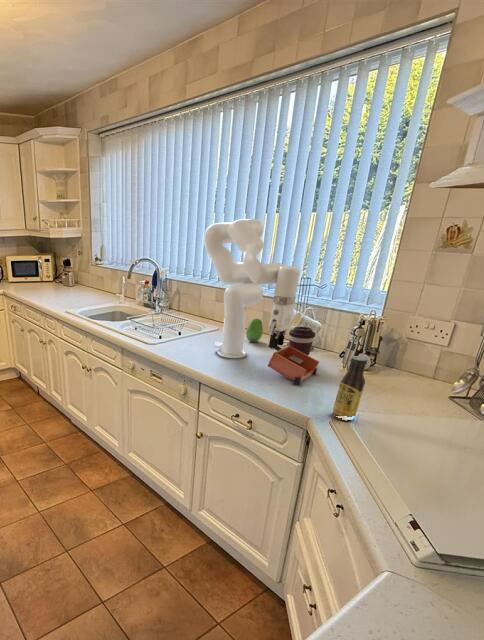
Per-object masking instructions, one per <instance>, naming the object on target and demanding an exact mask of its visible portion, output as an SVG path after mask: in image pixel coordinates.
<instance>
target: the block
mask: <svg viewBox="0 0 484 640" xmlns="http://www.w3.org/2000/svg"><path fill="white" fill-rule="evenodd" d="M288 360H289V361H291V362H293V363H295V364H297V365H298V366H300V367H301V365H302V364H303V362H304V361H303V360H301V359H299V358H298V357H296V356H294V355H293V356H291V357H289V358H288Z"/></svg>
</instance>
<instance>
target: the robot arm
mask: <svg viewBox="0 0 484 640" xmlns="http://www.w3.org/2000/svg"><path fill="white" fill-rule="evenodd" d="M263 234H264V226H263V223H262V222H261V221H260V220H259V219H257V218H240V219H236V220H234V221H233V222H216V223H213V224H211V225H208V226H207V228H206V229H205V232H204V236H203V243H204V247H205V251H206V253H207V254H208V257H209V258H210V259H211V261H212V264H213V266H214V269H215V272H216V274H217V276H218V279H219V281H220V283H221V284H223V285H224V286H228V287H227V288H226V289H225V290H224V293H223V305H224V313H223V326H222V337H221V342H218V341H215V343H214V348H218V350H217V353H216V354H217V355H218V356H220V357H222V358H226V359H241V358H245V357H246V355H247V352H246V351H244V342H245V336H246V327H247V313H246V310H245V307H246V306H254V305H257V304H260V303H261V302H262V300H263V297H264V290H263V285H273V284H275V287H274V292H273V299H272V304H273V305H272V309H271V313H270V317H269V322H268V334H269V342H268V346H269V347H272V349H273V348H277V346H278V347H279V346H281V347H282V346H284V343H285V342H284V341H285V336H286V332H287V330H288V329H291V327H292V324H293V317H294V307H295V301H296V296H297V291H298V286H299V282H300V274H301V269H300V267H297V266H295V265H287V264H284V263H280V262H276V263H261V261H260V260H259V259H258V257H257V256H258V255H259V254H260V253H261V251H262V250H263V248H264V245H265V243H264V240H263V239H262V238H261V237H262V236H263ZM224 244H235V245H236V246H237V248H238V249H239V250H240V252H241V253H242V254H243V258H242V261H241V262H237V261H235V258H234V257H233V255H232V253H231V251H230V250H229V248H227V246H226V245H224ZM279 332H280V333H282V336H281V338H280V340H279V338H278V335H279ZM278 340H279V342H278ZM269 347H268V348H269Z"/></svg>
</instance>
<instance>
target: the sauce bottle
mask: <svg viewBox="0 0 484 640" xmlns="http://www.w3.org/2000/svg"><path fill="white" fill-rule="evenodd" d="M367 363H368V358H366V357H364V356H361V355H353V356H351V358H350V364H349V368H348V370H347V372H346V373H345V375H344V376H343V378H342V379H341V381H340V383H339V386H338V389H337V393H336V397H335V401H334V404H333V408H332V417H333V418H334V419H336V420H339V421H342V422H344V421H343V420H342V418H338V417H336V416H347V417H352V416H355V417H356V416H357V412H358V409H359V406H360V402H361V399H362V395H363V392H364V387H365V384H366V379H365V376H364V373H365V371H364V370H365V367H366V365H367Z"/></svg>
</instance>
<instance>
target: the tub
mask: <svg viewBox="0 0 484 640" xmlns="http://www.w3.org/2000/svg"><path fill="white" fill-rule="evenodd" d="M281 336H282V333H280V332H279V335H278V338H279V340H280V338H281ZM279 340H278V342H279ZM267 347H268V348H270V350H271V349H273V350H275V352H273V354H272V356H271V358H270V359H269V362H268V363H267V367H268V368H270V369H271V370H273V371H275V372H278V374H280V375H282V376H284V377H286V378H287V379H288V380H290V381H292V382H294V379H295V377H297V378H301V382H303V381H304V380H306V379H308V378H309V377H311V376H312V374H313V372H314V370H315V369H316V368H317V367H318V366H319V364H320V361H319V360H317V359H315V358H313V357H312V356H310V355H306V354H304V353H302V352H300V351H299V350H297V349H295V348H293V347H291V346H289V345H287V346H285V347H283V348H282V347H280V346H279V345H278V346H277V348H272V347H269V345H268V346H267ZM293 355H294V356H296V357H298V358H299V359H301V360H303V361H304V362H303V364H302V365H301V367H300V366H298V365H297V364H295V363H293V362H291V361H289V360H288V358H289V357H291V356H293Z"/></svg>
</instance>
